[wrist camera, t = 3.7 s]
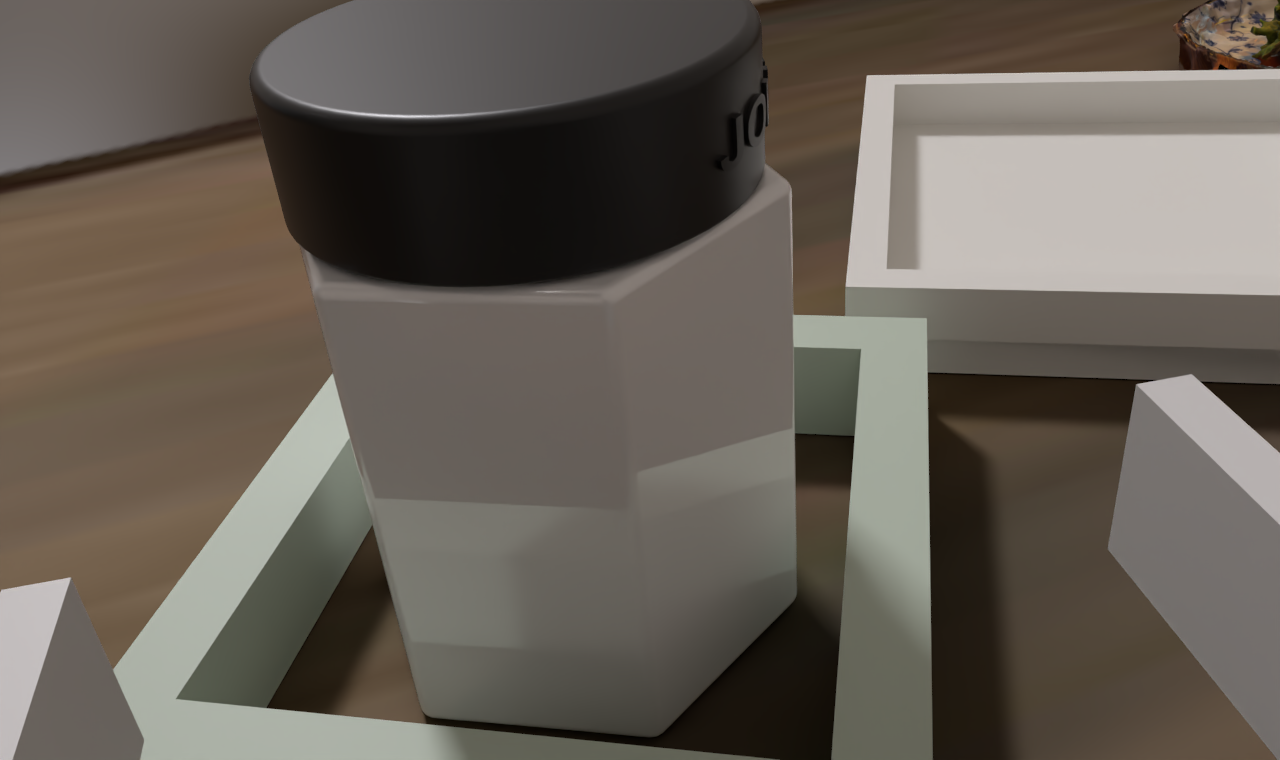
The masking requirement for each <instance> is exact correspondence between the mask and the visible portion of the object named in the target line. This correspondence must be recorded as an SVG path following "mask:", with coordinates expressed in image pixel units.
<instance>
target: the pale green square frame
mask: <svg viewBox="0 0 1280 760" xmlns="http://www.w3.org/2000/svg"><path fill="white" fill-rule="evenodd" d="M793 333H794V405H795V433H801V434H824V435H846V436H855V440H854V454H853V467H852V481H851V495H850V509H849V522H848V536H847V550H846V564H845V577H844V591H843V605H842V619H841V632H840V646H839V660H838V674H837V687H836V701H835V715H834V729H833V742H832V756H831V760H933V737H932V664H931V591H930V518H929V445H928V372H927V318H895V317H854V316H814V315H793ZM371 526H372V521H371V517H370V513H369V510H368V506H367V502H366V498H365V494H364V491H363V487H362V483H361V479H360V475H359V471H358V468H357V464H356V460H355V456H354V452H353V449H352V445H351V441H350V437H349V433H348V429H347V426H346V422H345V418H344V414H343V410H342V407H341V403H340V399H339V395H338V391H337V387H336V384H335V380H334V376H333V374H332V375H331V376H330V378H329V379H328V380H327V382H326V383H325V384H324V386H323V387H322V388H321V390H320V391H319V393H318V394H317V395H316V397H315V398H314V399H313V401H312V402H311V403H310V405H309V406H308V407H307V409H306V410H305V411H304V413H303V414H302V415H301V417H300V418H299V420H298V421H297V422H296V424H295V425H294V426H293V428H292V429H291V430H290V432H289V433H288V434H287V436H286V437H285V438H284V440H283V441H282V442H281V444H280V445H279V447H278V448H277V449H276V451H275V452H274V453H273V455H272V456H271V457H270V459H269V460H268V461H267V463H266V464H265V465H264V467H263V468H262V469H261V471H260V472H259V474H258V475H257V476H256V478H255V479H254V480H253V482H252V483H251V484H250V486H249V487H248V488H247V490H246V491H245V492H244V494H243V495H242V496H241V498H240V499H239V501H238V502H237V503H236V505H235V506H234V507H233V509H232V510H231V511H230V513H229V514H228V515H227V517H226V518H225V519H224V521H223V522H222V523H221V525H220V526H219V528H218V529H217V530H216V532H215V533H214V534H213V536H212V537H211V538H210V540H209V541H208V542H207V544H206V545H205V546H204V548H203V549H202V550H201V552H200V553H199V555H198V556H197V557H196V559H195V560H194V561H193V563H192V564H191V565H190V567H189V568H188V569H187V571H186V572H185V573H184V575H183V576H182V578H181V579H180V580H179V582H178V583H177V584H176V586H175V587H174V588H173V590H172V591H171V592H170V594H169V595H168V596H167V598H166V599H165V600H164V602H163V603H162V605H161V606H160V607H159V609H158V610H157V611H156V613H155V614H154V615H153V617H152V618H151V619H150V621H149V622H148V623H147V625H146V626H145V627H144V629H143V630H142V632H141V633H140V634H139V636H138V637H137V638H136V640H135V641H134V642H133V644H132V645H131V646H130V648H129V649H128V650H127V652H126V653H125V654H124V656H123V657H122V659H121V660H120V661H119V663H118V664H117V665H116V667H115V668H114V669H113V672H114V674H115V676H116V678H117V680H118V683H119V685H120V687H121V689H122V691H123V694H124V696H125V698H126V700H127V702H128V705H129V707H130V709H131V711H132V714H133V716H134V718H135V720H136V722H137V725H138V727H139V729H140V731H141V733H142V736H143V738H144V744H143V748H142V753H141V758H140V760H778V759H768V758H758V757H748V756H738V755H728V754H718V753H708V752H698V751H688V750H678V749H668V748H658V747H648V746H638V745H628V744H618V743H608V742H598V741H588V740H578V739H568V738H558V737H548V736H538V735H528V734H519V733H509V732H499V731H489V730H479V729H469V728H459V727H449V726H439V725H429V724H419V723H409V722H399V721H389V720H379V719H369V718H359V717H349V716H339V715H329V714H319V713H309V712H299V711H289V710H279V709H269V708H266V707H267V706H268V704H269V702H270V700H271V699H272V697H273V695H274V694H275V692H276V690H277V688H278V687H279V685H280V683H281V681H282V680H283V678H284V676H285V675H286V673H287V671H288V669H289V668H290V666H291V664H292V662H293V661H294V659H295V657H296V656H297V654H298V652H299V650H300V649H301V647H302V645H303V643H304V642H305V640H306V638H307V637H308V635H309V633H310V631H311V630H312V628H313V626H314V625H315V623H316V621H317V619H318V618H319V616H320V614H321V612H322V611H323V609H324V607H325V606H326V604H327V602H328V600H329V599H330V597H331V595H332V593H333V592H334V590H335V588H336V587H337V585H338V583H339V581H340V580H341V578H342V576H343V574H344V573H345V571H346V569H347V568H348V566H349V564H350V562H351V561H352V559H353V557H354V555H355V554H356V552H357V550H358V549H359V547H360V545H361V543H362V542H363V540H364V538H365V536H366V535H367V533H368V531H369V530H370V528H371Z"/></svg>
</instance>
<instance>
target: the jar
mask: <svg viewBox="0 0 1280 760" xmlns="http://www.w3.org/2000/svg"><path fill="white" fill-rule="evenodd" d="M249 80H250V90H251V94H252V98H253V102H254V105H255V109H256V113H257V117H258V121H259V124H260V128H261V132H262V136H263V139H264V143H265V147H266V151H267V154H268V158H269V162H270V166H271V170H272V173H273V177H274V181H275V185H276V188H277V192H278V196H279V200H280V203H281V207H282V211H283V215H284V218H285V222H286V225H287V227H288V230H289V232H290V233H291V235H292V236H293V238H294V239H295V240H296V242H297V243H299V246H300V250H301V254H302V258H303V261H304V265H305V269H306V273H307V277H308V281H309V284H310V288H311V292H312V296H313V300H314V303H315V307H316V311H317V315H318V319H319V323H320V326H321V330H322V334H323V338H324V342H325V345H326V349H327V353H328V357H329V361H330V365H331V368H332V372H333V376H334V380H335V384H336V387H337V391H338V395H339V399H340V403H341V407H342V410H343V414H344V418H345V422H346V426H347V429H348V433H349V437H350V441H351V445H352V449H353V452H354V456H355V460H356V464H357V468H358V471H359V475H360V479H361V483H362V487H363V491H364V494H365V498H366V502H367V506H368V510H369V513H370V517H371V521H372V525H373V529H374V533H375V536H376V540H377V544H378V548H379V552H380V555H381V559H382V563H383V567H384V571H385V575H386V578H387V582H388V586H389V590H390V594H391V598H392V601H393V605H394V609H395V613H396V617H397V620H398V624H399V628H400V632H401V636H402V640H403V643H404V647H405V651H406V655H407V659H408V662H409V666H410V670H411V674H412V678H413V682H414V685H415V689H416V693H417V697H418V701H419V704H420V707H421V709H422V711H423V713H424V714H426V715H427V716H429V717H431V718H439V719H450V720H461V721H472V722H483V723H494V724H505V725H516V726H527V727H539V728H550V729H561V730H572V731H583V732H594V733H605V734H616V735H627V736H638V737H649V738H651V737H657V736H659V735H660V734H662V733H664V732H665V730H666V729H667V728H668V727H669V726H670V725H671V724H672V723H673V722H674V721H675V720H676V719H677V718H678V717H679V716H680V715H681V714H682V713H683V712H684V711H685V710H686V709H687V708H688V707H689V706H690V705H691V704H692V703H693V702H694V701H695V700H696V699H697V698H698V697H699V696H700V695H701V694H702V693H703V692H704V691H705V690H706V689H707V688H708V687H709V686H710V685H711V684H712V683H713V682H714V681H715V680H716V679H717V678H718V677H719V676H720V675H721V674H722V673H723V672H724V671H725V670H726V669H727V668H728V667H729V666H730V665H731V664H732V663H733V662H734V661H735V660H736V659H737V658H738V657H739V656H740V655H741V654H742V653H743V652H744V651H745V650H746V649H747V648H748V647H749V646H750V645H751V644H752V643H753V642H754V641H755V640H756V639H757V638H758V637H759V636H760V635H761V634H762V633H763V632H764V631H765V630H766V629H767V628H768V627H769V626H770V625H771V624H772V623H773V622H774V621H775V620H776V619H777V618H778V617H779V616H780V615H781V614H782V613H783V612H784V611H785V610H786V609H787V608H788V607H789V606H790V605H791V604H792V603H793V602H794V600H795V598H796V596H797V548H796V476H795V405H794V333H793V261H792V190H791V186H790V184H789V182H788V181H787V180H786V179H785V178H784V177H782V176H781V175H780V174H779V173H777V172H776V171H775V170H774V169H772V168H771V167H770V166H769V165H768V164H766V163H765V137H764V132H765V126H768V123H769V116H768V72H767V66H765V61H764V59H763V58H762V27H761V21H760V17H759V14H758V12H757V10H756V9H755V7H754V6H753V4H752V3H751V1H750V0H354V1H351V2H348V3H345V4H342V5H339V6H337V7H334V8H331V9H329V10H326V11H324V12H322V13H319V14H317V15H315V16H312V17H310V18H309V19H306V20H304V21H302V22H300V23H298V24H296V25H295V26H293V27H291V28H290V29H288V30H286V31H285V32H284V33H282V34H280V35H279V36H278V37H277V38H275V39H274V40H273V41H272V42H271V43H269V44H268V45H267V46H266V47H265V48H264V49H263V50H262V51H261V52H260V54H259V55H258V56H257V58H256V60H255V61H254V63H253V65H252V68H251V72H250V76H249Z"/></svg>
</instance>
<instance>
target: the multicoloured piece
mask: <svg viewBox="0 0 1280 760" xmlns="http://www.w3.org/2000/svg"><path fill="white" fill-rule="evenodd" d="M1182 16H1183V17H1182V18H1181V19H1180V21H1179V22H1178V23H1176V24H1175V25H1173V30H1174V32H1176V34H1177V36H1178V37H1179V38H1180V56H1179V71H1188V70H1218V67H1219V64H1221V65H1222V66H1224V67H1226V68H1228V69H1229V70H1252V69H1280V0H1209V1H1207V2H1205V3H1203V4H1202V5H1200V6H1198V7H1196V8H1194V9H1192V10H1190V11H1188V12H1187V13H1185V14H1183V15H1182Z"/></svg>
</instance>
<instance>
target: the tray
mask: <svg viewBox="0 0 1280 760" xmlns="http://www.w3.org/2000/svg"><path fill="white" fill-rule="evenodd" d="M845 316H854V317H895V318H927V372H935V373H964V374H994V375H1024V376H1053V377H1083V378H1113V379H1143V380H1162V379H1168V378H1173V377H1179V376H1184V375H1190V374H1192V375H1193V376H1194V377H1195V378H1197V379H1198V380H1199V381H1202V382H1232V383H1261V384H1280V69H1252V70H1188V71H1124V72H1060V73H996V74H932V75H868V76H867V81H866V91H865V100H864V110H863V120H862V130H861V140H860V150H859V160H858V170H857V179H856V189H855V199H854V209H853V219H852V229H851V239H850V249H849V258H848V268H847V278H846V297H845Z"/></svg>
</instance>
